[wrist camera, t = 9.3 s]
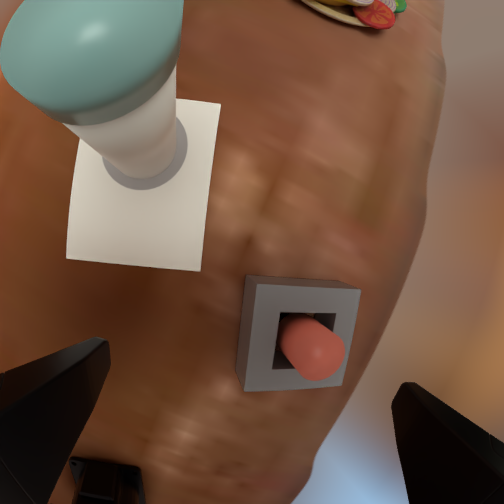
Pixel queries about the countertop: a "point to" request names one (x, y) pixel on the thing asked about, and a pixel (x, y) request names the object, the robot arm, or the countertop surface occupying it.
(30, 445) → the robot arm
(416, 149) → the countertop surface
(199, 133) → the paper
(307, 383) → the button housing
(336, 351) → the button
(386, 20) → the toy food set
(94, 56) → the teal and white bottle
